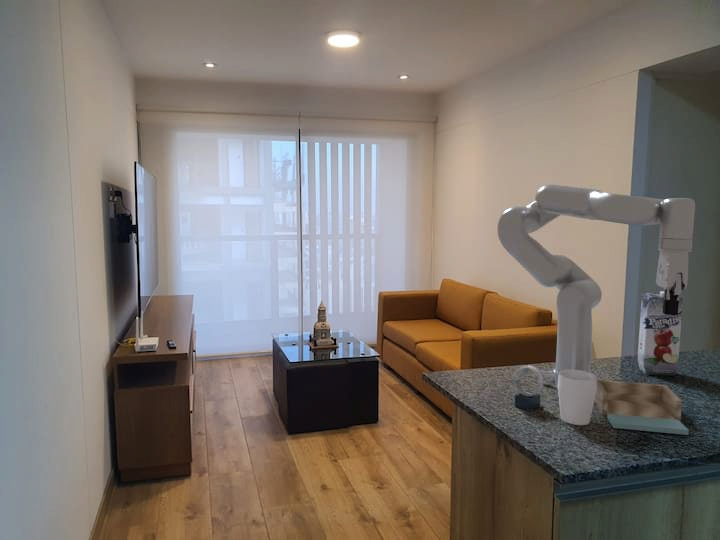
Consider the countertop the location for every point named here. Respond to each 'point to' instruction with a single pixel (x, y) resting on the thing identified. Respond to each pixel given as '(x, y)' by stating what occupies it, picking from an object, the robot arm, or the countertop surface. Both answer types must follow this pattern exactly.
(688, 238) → the robot arm
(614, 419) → the panel
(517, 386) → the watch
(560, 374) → the cup
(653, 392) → the crate
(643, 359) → the juice carton
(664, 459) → the countertop surface
